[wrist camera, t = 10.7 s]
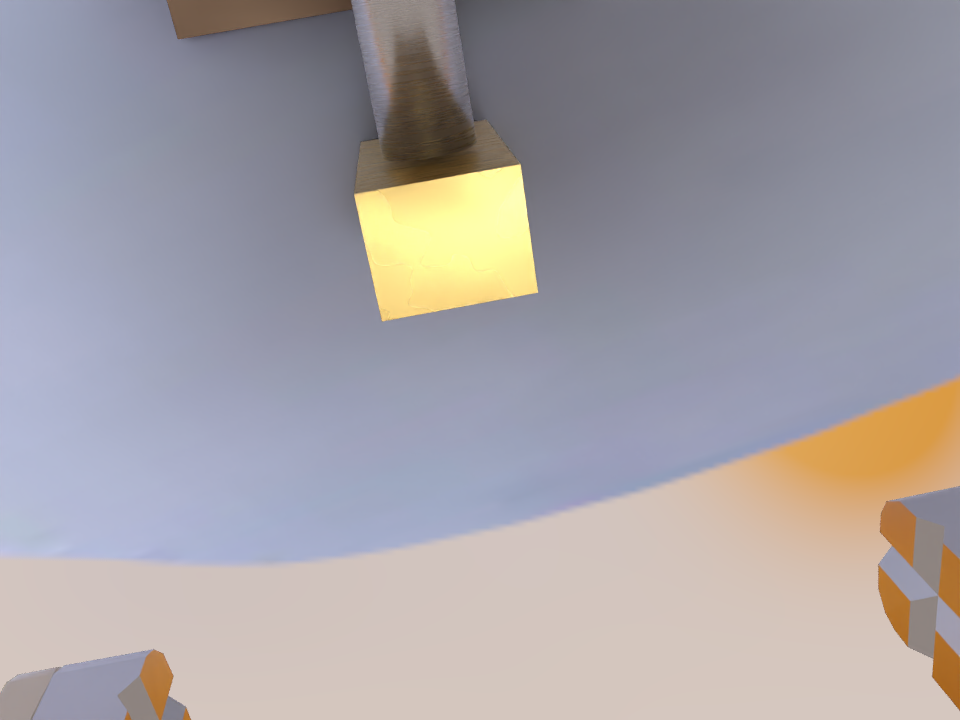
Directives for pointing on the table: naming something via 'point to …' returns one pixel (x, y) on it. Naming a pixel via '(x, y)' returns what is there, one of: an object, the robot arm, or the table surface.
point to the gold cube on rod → (434, 171)
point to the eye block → (243, 13)
